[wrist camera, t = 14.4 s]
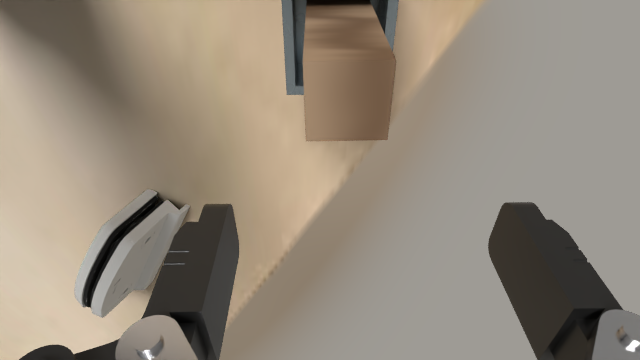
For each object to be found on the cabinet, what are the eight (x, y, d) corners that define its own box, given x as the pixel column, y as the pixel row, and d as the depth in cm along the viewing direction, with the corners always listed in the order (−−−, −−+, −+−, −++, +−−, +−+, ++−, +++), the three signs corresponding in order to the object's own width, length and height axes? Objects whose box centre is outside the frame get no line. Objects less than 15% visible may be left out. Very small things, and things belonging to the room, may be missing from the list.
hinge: (152, 282, 54) (97, 339, 46) (123, 263, 54) (63, 317, 46) (191, 203, 46) (131, 256, 37) (157, 180, 45) (90, 228, 37)
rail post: (308, 53, 29) (305, 141, 19) (307, -6, 26) (302, 61, 17) (363, 52, 29) (387, 139, 19) (366, -7, 26) (396, 60, 17)
